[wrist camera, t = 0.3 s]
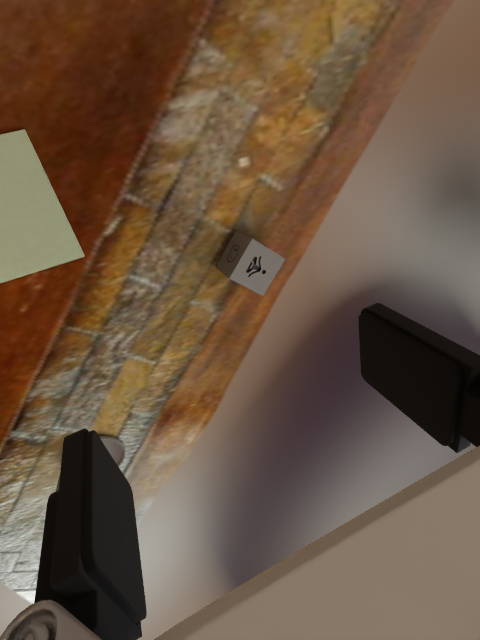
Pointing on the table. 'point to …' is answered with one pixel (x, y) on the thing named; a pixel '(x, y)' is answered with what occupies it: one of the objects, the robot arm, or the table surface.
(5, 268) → the felt mat
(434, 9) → the table surface
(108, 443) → the pocket watch
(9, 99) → the table surface
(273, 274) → the dice cube
